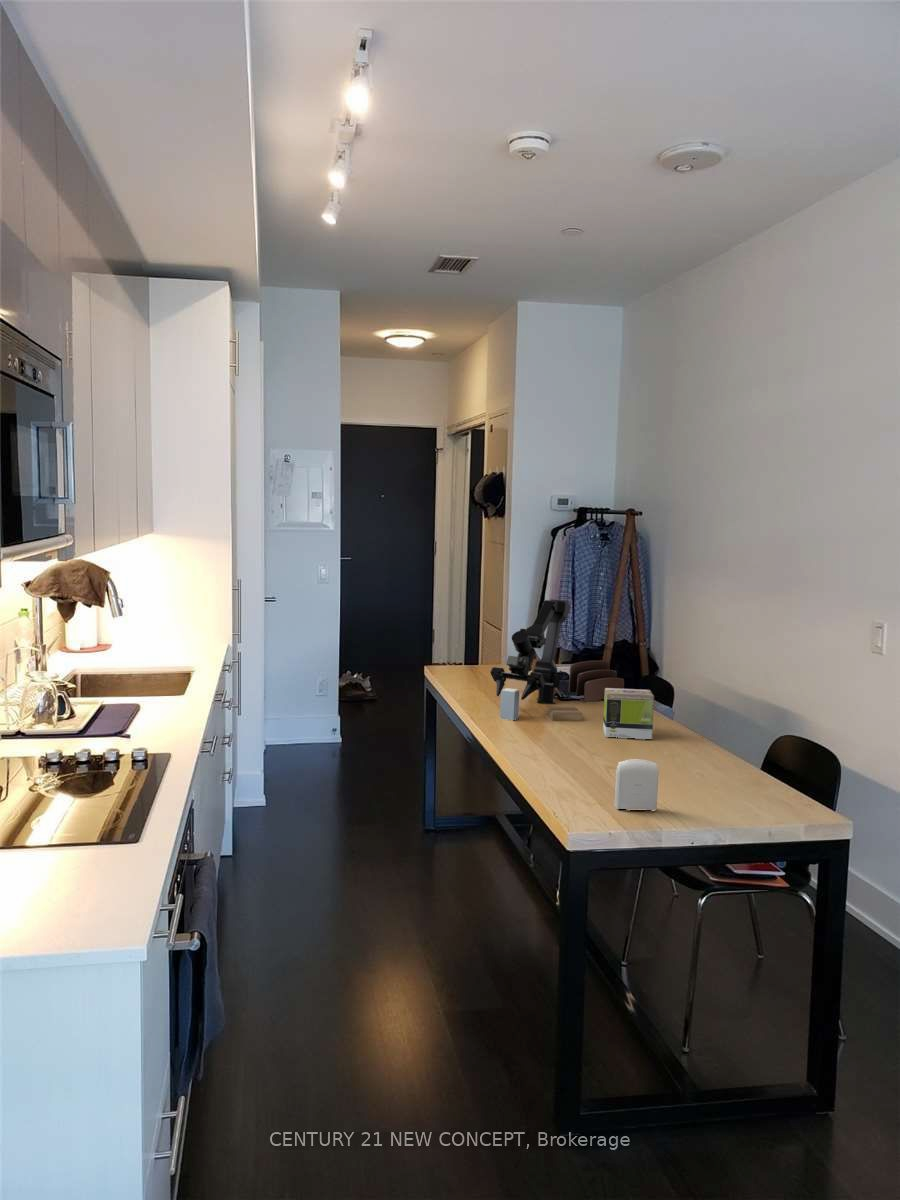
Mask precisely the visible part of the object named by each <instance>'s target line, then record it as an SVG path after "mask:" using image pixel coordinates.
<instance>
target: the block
mask: <svg viewBox="0 0 900 1200" xmlns="http://www.w3.org/2000/svg"><path fill="white" fill-rule="evenodd" d="M545 711H546V712H545V713H546V716H547V717H548V718H549V719H550V720H551V721H552V722H576V723H578V722H579V723H581V722H582V716H583V715H582V713H583V712H582V711H581V710H579V709H578V708H577V707H576V706H575V705H546V710H545Z"/></svg>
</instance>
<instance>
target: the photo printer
mask: <svg viewBox="0 0 900 1200" xmlns="http://www.w3.org/2000/svg"><path fill="white" fill-rule="evenodd" d="M615 771H616V773H615V785H614V786H615V790H614V808H615V807H616V808H618V809H646V810H654V809H656V808H657V807H658V795H659V794H658V791H659V790H658V789H659V788H658V787H659V773H660V771H659V769H658V764H657V763H655V762H654V761H651V760H647V759H640V758H639V759H635V758H634V759H631V758H630V759H626V760H622V761H619V762H617V766H616V770H615Z"/></svg>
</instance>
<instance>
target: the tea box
mask: <svg viewBox="0 0 900 1200" xmlns="http://www.w3.org/2000/svg"><path fill="white" fill-rule="evenodd" d="M654 703H655V695H654V694H653V692H652V691H651V689H641V688H640V689H639V688H638V689H637V688H636V689H635V688H624V689H620V688H605V695H604V700H603V718H602V719H603V721H602V725H603V727H602V730H603V733H604V737H605V738H608V737H616V738H615V739H627V738H635V739H634V740H645V739H652V740H653V728H654V710H655V709H654V707H655V705H654ZM617 737H618V738H617Z"/></svg>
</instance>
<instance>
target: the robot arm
mask: <svg viewBox="0 0 900 1200" xmlns="http://www.w3.org/2000/svg"><path fill="white" fill-rule="evenodd" d="M541 605H542V606H541V608H540V610H539V613H538V614H537V616H536V618H535V620H534V622H533V623H532V625H531V626H529V627H526V628H520V630H518V631H516V632H515V633H513V634H512V635H511V641H512V643H513V645H514V648H515V651H516V652H517V653H518V654H517V656H513V655H507V656H508V657H507V660H506V666H508V670H509V671H510V672H507V671H505V669H504V668H503V667H497V666H493V667H492V668H491V670H490V676H491V677H492V679H493V682H495V683H496V696H497V697H499V696H501V690H503V689H504V687H505V685H506V684H505V682H506V681H507V679H509V680H515V681H519V682H520V681H521V682H526V684H525V687H524V690H523V692H522V694H521V697H520V698H521V699H520V700H521V701H524V700H525V699H527V698H528V696H530V695H531V694H533V693H534V692H535V691H538V695H537V697H536V703H537V704H549V705H551V704H552V705H553V704H554V705H555V704H556V703H555V699H554V698H555V697H554V695H555V689H556V688H560V687H559V686H560V685H561V684H560V682H561V679H560V677H559V675H558V667H557V665H556V662H555V658H556V655H557V650H558V649H557V648H558V645H559V643H558V642H559V639H560V633H561V628H562V624H563V623H564V622H565V621H566V620H567V619H568V615H569V613H570V611H571V604H570V603H569V602H568V600H563V599H554V598H552V599H550V600H547V599H546V600H543V602H542V604H541ZM545 632H546V635H545ZM541 648H543V650H542V655H541V658H540V659H539V660H537V651H536V649H541ZM535 660H537V661H536V662H535V665H534V669H533V671H532V666H533V662H534V661H535ZM529 672H530V673H529ZM528 674H529V675H528Z"/></svg>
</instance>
